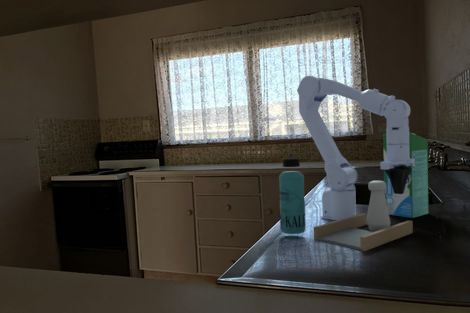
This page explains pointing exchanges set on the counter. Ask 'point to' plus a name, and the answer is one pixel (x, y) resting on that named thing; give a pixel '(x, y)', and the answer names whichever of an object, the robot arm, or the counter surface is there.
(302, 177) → the beverage bottle
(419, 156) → the milk carton
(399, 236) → the tan u-shaped piece
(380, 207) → the salt shaker
